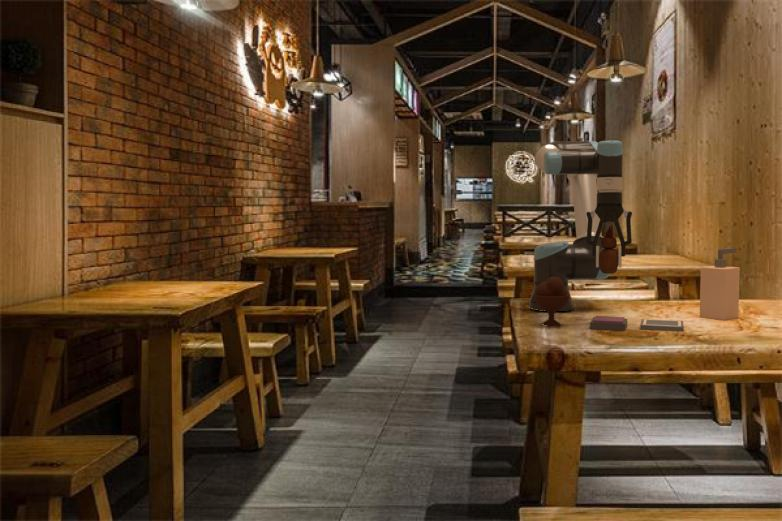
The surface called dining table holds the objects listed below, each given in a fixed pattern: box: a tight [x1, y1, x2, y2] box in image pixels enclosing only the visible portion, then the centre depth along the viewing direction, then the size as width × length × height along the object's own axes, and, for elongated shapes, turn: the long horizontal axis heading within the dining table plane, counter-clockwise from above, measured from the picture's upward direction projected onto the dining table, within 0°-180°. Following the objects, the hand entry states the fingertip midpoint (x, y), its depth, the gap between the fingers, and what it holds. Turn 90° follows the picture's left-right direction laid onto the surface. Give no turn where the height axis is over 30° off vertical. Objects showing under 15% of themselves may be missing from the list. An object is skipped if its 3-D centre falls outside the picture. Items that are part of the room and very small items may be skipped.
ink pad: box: [589, 315, 628, 332], centre depth 230 cm, size 10×10×3 cm
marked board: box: [639, 318, 685, 332], centre depth 229 cm, size 12×12×1 cm
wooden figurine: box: [599, 224, 619, 275], centre depth 235 cm, size 7×6×15 cm
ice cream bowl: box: [533, 277, 571, 327], centre depth 234 cm, size 11×11×15 cm
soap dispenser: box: [699, 247, 741, 321], centre depth 246 cm, size 13×9×22 cm
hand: (608, 267), depth 235 cm, fingers closed on wooden figurine, 6 cm apart
